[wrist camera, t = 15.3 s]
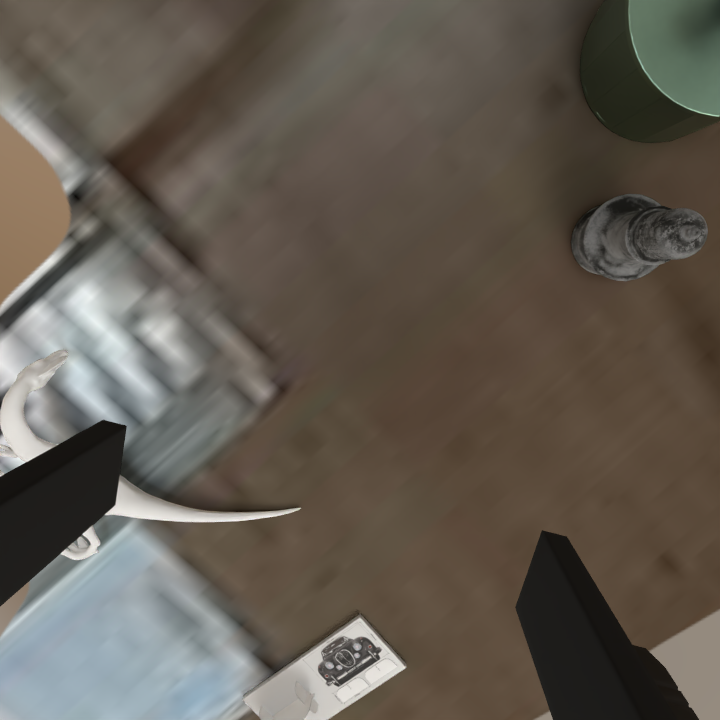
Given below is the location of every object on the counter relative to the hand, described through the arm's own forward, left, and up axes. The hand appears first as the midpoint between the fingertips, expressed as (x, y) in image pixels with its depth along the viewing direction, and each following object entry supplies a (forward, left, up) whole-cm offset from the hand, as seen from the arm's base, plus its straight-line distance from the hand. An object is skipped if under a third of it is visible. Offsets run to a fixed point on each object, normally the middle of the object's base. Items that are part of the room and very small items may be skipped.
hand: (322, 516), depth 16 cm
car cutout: (+31, -8, -27) cm, 42 cm away
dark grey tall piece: (-7, +19, -27) cm, 34 cm away
